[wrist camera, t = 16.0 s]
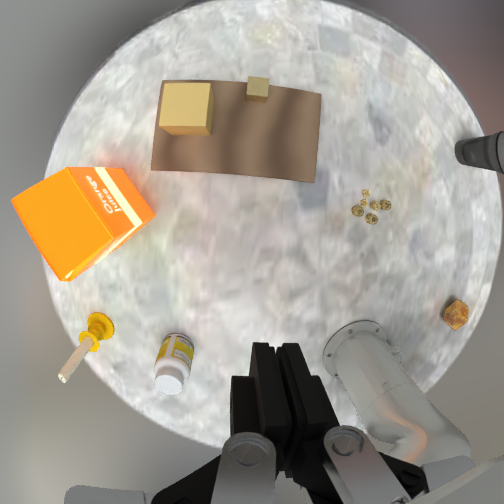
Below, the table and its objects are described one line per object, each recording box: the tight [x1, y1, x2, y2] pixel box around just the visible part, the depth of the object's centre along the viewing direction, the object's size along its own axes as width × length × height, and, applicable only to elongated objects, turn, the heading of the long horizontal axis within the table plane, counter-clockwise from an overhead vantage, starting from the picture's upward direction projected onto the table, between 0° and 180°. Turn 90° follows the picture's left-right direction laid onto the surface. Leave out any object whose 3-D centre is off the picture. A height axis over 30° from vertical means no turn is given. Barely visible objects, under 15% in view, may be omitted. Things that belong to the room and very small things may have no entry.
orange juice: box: [11, 167, 155, 281], centre depth 26 cm, size 8×9×20 cm
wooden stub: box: [245, 76, 269, 103], centre depth 30 cm, size 3×3×3 cm
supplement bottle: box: [154, 334, 194, 395], centre depth 37 cm, size 5×5×10 cm
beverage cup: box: [455, 131, 504, 174], centre depth 27 cm, size 7×7×20 cm
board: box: [151, 80, 322, 183], centre depth 33 cm, size 22×13×1 cm, turn 85°
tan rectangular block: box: [159, 83, 214, 136], centre depth 29 cm, size 5×5×7 cm
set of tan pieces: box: [352, 189, 391, 224], centre depth 38 cm, size 5×5×2 cm
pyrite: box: [444, 300, 469, 330], centre depth 43 cm, size 5×7×4 cm
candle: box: [58, 313, 114, 383], centre depth 33 cm, size 5×5×16 cm
